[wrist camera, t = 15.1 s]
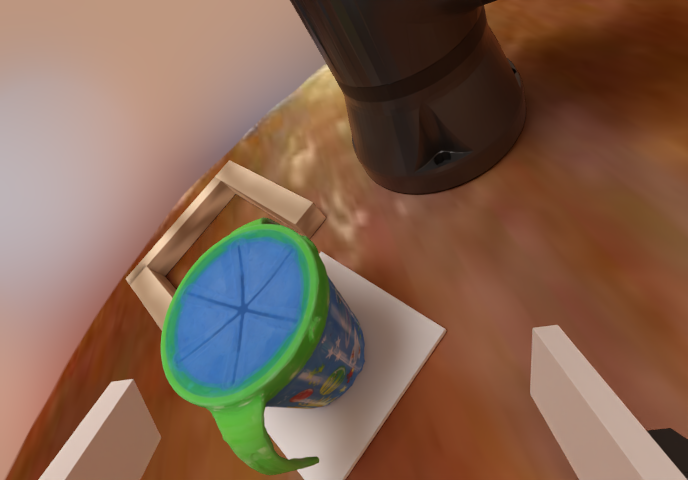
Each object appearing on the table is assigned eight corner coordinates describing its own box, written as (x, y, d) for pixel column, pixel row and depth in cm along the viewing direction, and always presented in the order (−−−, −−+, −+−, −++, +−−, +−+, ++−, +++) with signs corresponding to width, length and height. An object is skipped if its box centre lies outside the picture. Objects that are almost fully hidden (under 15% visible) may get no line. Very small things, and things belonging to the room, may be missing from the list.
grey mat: (323, 253, 35) (321, 251, 34) (446, 330, 26) (445, 328, 26) (226, 377, 32) (223, 376, 32) (327, 505, 24) (324, 505, 24)
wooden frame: (243, 174, 47) (229, 160, 45) (326, 218, 37) (312, 202, 35) (144, 288, 44) (125, 278, 42) (205, 370, 34) (184, 362, 32)
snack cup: (401, 474, 23) (314, 459, 15) (252, 484, 26) (122, 475, 19) (380, 249, 32) (318, 168, 24) (271, 279, 35) (187, 217, 28)
